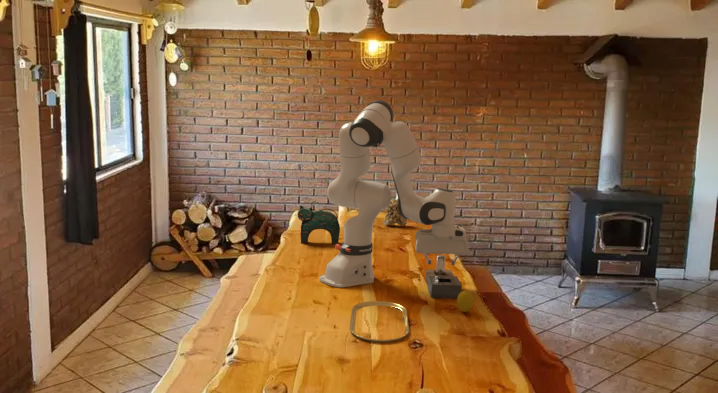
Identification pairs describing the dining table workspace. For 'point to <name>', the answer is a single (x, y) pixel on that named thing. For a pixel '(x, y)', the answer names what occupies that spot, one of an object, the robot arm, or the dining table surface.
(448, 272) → the socket block
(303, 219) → the ceramic cat
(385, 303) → the rounded metal frame
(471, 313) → the dining table surface
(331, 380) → the dining table surface
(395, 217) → the mineral formation
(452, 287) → the grey square-hole block
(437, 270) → the steel peg
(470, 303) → the lemon
